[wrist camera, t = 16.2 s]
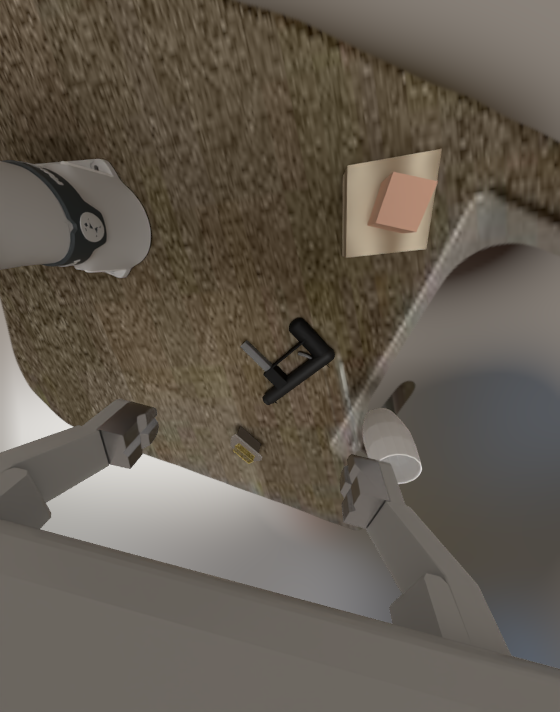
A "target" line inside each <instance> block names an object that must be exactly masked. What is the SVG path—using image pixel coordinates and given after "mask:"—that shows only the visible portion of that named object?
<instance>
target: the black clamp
mask: <svg viewBox="0 0 560 712" xmlns="http://www.w3.org/2000/svg"><path fill="white" fill-rule="evenodd" d="M289 331H290V332H291V333H292V334H293V336H294V337H295V338H296V339H297V340H298V341H299V343H298V344H296V345H295V346H294V347H293V348H292V349H290V350H289V351H288V352H287V353H286V354H284V355H283V356H282V357H281V358H280V359H278V360H277V361H276V362H275V363H273V364H272V363H270V362H269V361H268V360H267V359H266V358H265V357H264V356H263V355H262V354H261V353H260V352H259V351H258V350H257V349H256V348H255V347H254V346H252V345H251V344H250V343H249V342H248V341H247V340H246V341H245V342H244V343H243V344H242V345H241V346H240V347H241V348H242V349H243V350H244V351H245V352H246V353H247V354H248V355H249V356H250V357H251V358H252V359H253V360H254V361H255V362H256V363H257V364H258V365H259V366H260V367H261V368H262V369H263V370H264V371H265V372H264V374H263V375H264V376H265V377H266V378H267V379H268V380H269V381H270V382H271V383H272V384H273V385H274V387H273V388H272V389H270V390H269V391H268V392H267V393H266V394H265V395H264V396H263V401H264V403H265V404H267V405H270V404H272V403H274V402H275V403H277V402H276V401H277V400H278V399H280V398H281V397H283V396H284V395H285V394H287V393H288V392H289V391H291V390H292V389H294V388H295V387H296V386H298V385H299V384H300V383H302V382H303V381H304V380H306V379H307V378H309V377H310V376H311V375H313V374H314V373H315V372H317V371H318V370H320V369H321V368H322V367H324V366H325V365H327V364H328V363H329V362H331V361H332V360H333V359H334V357H335V353H334V351H333V350H332V349H331V348H329V347H328V345H327V344H326V343H325V342H324V341H323V340H322V339H321V338H320V337H319V336H318V335H317V334H316V332H315V331H314V330H313V329H312V328H311V327H310V326H309V325H308V324H307V323H306V322H305V320H304V319H302V318H298V319H295V320H294V321H293V322H292V323H291V324H290V326H289ZM300 345H303V346H304V347H305V348H306V349H307V350H308V351H309V352H310V353H311V355H312V356H313V357H311V356H309V355H307V354H305V353H301V352H299V353H298V355H300V356H304V357H307V358H309V360H308V361H307V362H305V363H304V364H303V365H302V366H300V367H299V368H298V369H296V370H295V371H294V372H293V373H291V374H290V375H289V376H287V375H286V374H285V373H284V372H283V371H282V370H281V369H280V368H279V367H278V366H277V364H278V363H280V362H281V361H282V360H283V359H284V358H286V357H287V356H288V355H289V354H291V353H292V352H293V351H294V350H295V349H297V348H298V347H299V346H300ZM327 366H328V365H327ZM328 367H329V366H328ZM329 368H330V367H329ZM277 404H278V403H277Z"/></svg>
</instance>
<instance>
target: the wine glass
mask: <svg viewBox="0 0 560 712" xmlns="http://www.w3.org/2000/svg"><path fill="white" fill-rule="evenodd" d="M363 441H364V445H365V448H366V452H367V455H368V458H371V459H375V460H379V461H383V462H387V463H390V464H391V465H392V468H393V471H394V474H395V477H396V479H397V482H398V484H401V483H407V482H410V481H412V480H414V479H416V478H417V477H418V476H419V475H420V473H421V471H422V466H421V462H420V458H419V455H418V451H417V448H416V445H415V443H414V440H413V438H412V436H411V434H410V432H409V430H408V429H407V427H406V426H405V425H404V423H403V422H402V421H401V420H400V419H399V418H398V417H397V416H396V415H395V414H394V413H393V412H392V411H391V410H388V409H386V408H377V409H373V410H371V411H369V412H368V413H367V414H366V415H365V418H364V424H363Z"/></svg>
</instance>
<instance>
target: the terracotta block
mask: <svg viewBox="0 0 560 712" xmlns="http://www.w3.org/2000/svg"><path fill="white" fill-rule="evenodd" d="M437 183H438V181H434V180H429V179H425V178H420V177H416V176H411V175H406V174H402V173H397V172H393V173H391V174H390V175H389V176H388V177H387V178H386V179H385V180H384V181H382V183H381V186H380V189H379V192H378V195H377V198H376V201H375V204H374V207H373V210H372V213H371V216H370V219H369V222H368V225H367V226H372V227H376V228H380V229H385V230H389V231H394V232H398V233H412V232H417V229H418V227H419V225H420V222H421V220H422V218H423V215H424V213H425V211H426V208H427V206H428V204H429V202H430V199H431V197H432V195H433V192H434V190H435V188H436V185H437Z"/></svg>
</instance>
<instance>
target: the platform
mask: <svg viewBox="0 0 560 712" xmlns="http://www.w3.org/2000/svg"><path fill="white" fill-rule="evenodd" d="M240 445H241V446H240ZM260 446H261V444H260V443H259V442H258V441H257V440H256V439H255V438H253V437H252V436H251V435H250V434H249V433H248V432H247V431H245V430H244V429H243V428H242V427H240V429H239V431H238V434H237V435H236V434H235V435H233V436H232V437H231V447H232V448H233V449H234V450H235V451H236V452H237V453H238V454H239V455H240V456H241V455H242V456H243V457H244V458H245V459H246V460H247V461H248V462H249V463H248V462H247V461H246V460H245V459H244V458H243V457H242V456H241V458H242V459H243V460H244V461H246V462H247V463H248V464H250V463H251V462H253V461H260V460H261V459H262V456H261V455H260V454H259V449H260ZM234 450H233V451H234ZM246 450H247V451H246ZM235 451H234V452H235ZM245 451H246V452H247V453H246V452H245ZM236 452H235V453H236ZM237 453H236V454H237ZM238 454H237V455H238ZM250 454H251V455H252V456H251V455H250ZM239 455H238V456H239ZM249 455H250V456H251V457H250V456H249Z"/></svg>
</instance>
